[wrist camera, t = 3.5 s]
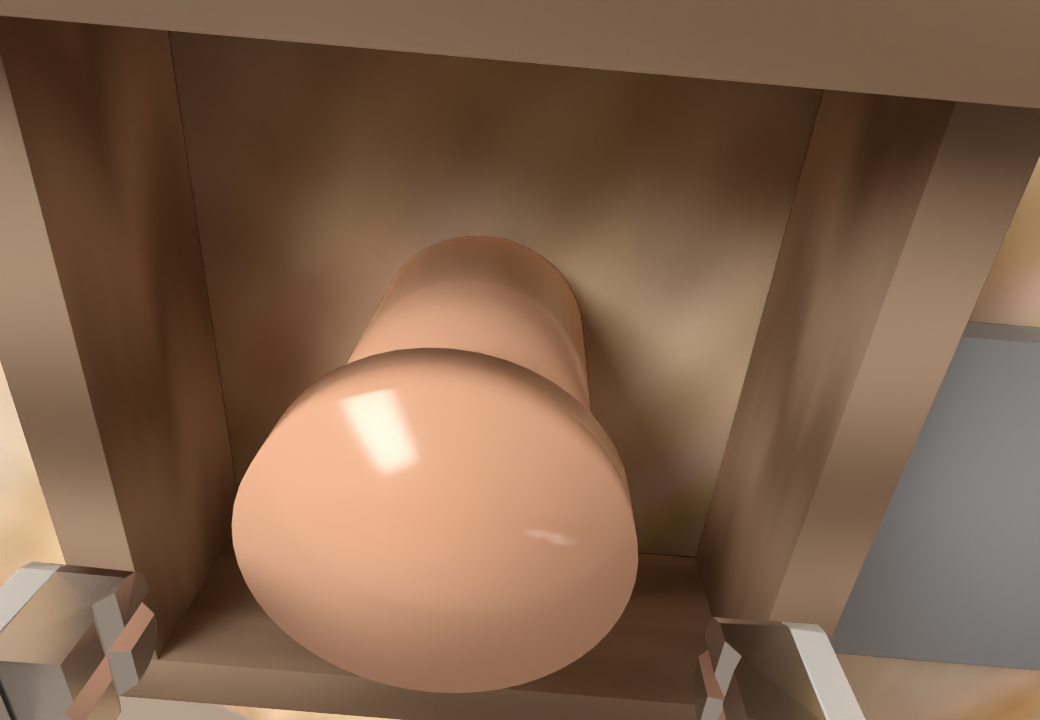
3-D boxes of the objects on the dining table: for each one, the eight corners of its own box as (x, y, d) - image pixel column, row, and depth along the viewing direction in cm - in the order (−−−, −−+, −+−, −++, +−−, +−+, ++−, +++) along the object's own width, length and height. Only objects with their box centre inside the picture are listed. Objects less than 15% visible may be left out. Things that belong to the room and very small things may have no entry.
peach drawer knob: (357, 203, 16) (204, 369, 9) (618, 228, 16) (673, 411, 9) (364, 422, 19) (254, 676, 12) (584, 442, 19) (606, 707, 12)
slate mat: (925, 318, 17) (946, 335, 16) (1244, 345, 17) (1283, 364, 16) (802, 625, 22) (813, 651, 21) (1046, 645, 22) (1067, 672, 21)
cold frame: (74, -90, 13) (-336, -171, 7) (928, -12, 13) (1254, -26, 7) (199, 551, 21) (56, 775, 15) (733, 596, 21) (809, 837, 15)
